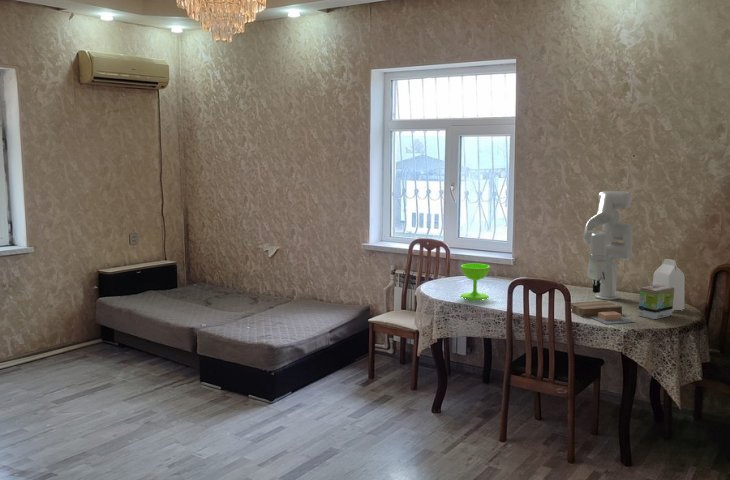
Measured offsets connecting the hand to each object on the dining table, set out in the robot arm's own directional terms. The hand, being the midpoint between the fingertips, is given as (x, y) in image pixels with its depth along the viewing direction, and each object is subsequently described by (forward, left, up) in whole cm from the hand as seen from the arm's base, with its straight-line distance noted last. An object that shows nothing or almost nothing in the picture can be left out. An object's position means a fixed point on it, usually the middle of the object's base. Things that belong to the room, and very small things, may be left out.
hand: (596, 292), depth 342 cm
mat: (+16, -1, -10) cm, 19 cm away
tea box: (+14, +25, -11) cm, 31 cm away
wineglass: (-46, -47, -11) cm, 67 cm away
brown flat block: (+1, -1, -10) cm, 10 cm away
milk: (+2, +41, -11) cm, 43 cm away
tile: (+14, -1, -9) cm, 16 cm away
